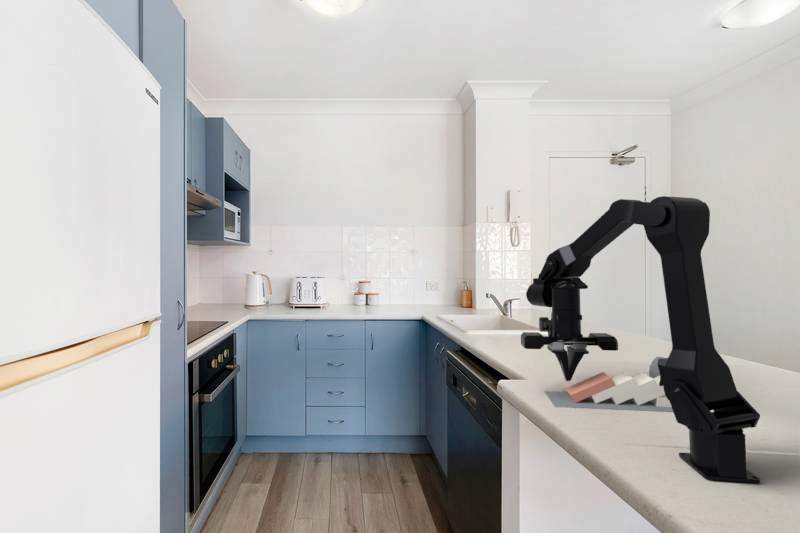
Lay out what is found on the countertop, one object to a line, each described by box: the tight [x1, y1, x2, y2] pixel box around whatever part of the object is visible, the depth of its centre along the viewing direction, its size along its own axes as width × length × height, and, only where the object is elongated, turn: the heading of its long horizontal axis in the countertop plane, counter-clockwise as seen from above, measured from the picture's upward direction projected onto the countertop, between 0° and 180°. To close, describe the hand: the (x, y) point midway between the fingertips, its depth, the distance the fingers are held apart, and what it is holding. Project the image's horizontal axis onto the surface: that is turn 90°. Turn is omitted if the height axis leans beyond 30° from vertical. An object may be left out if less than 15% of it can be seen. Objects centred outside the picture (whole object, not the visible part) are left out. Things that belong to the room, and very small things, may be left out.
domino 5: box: [650, 395, 672, 408], centre depth 75 cm, size 4×2×9 cm
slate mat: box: [543, 390, 674, 413], centre depth 77 cm, size 10×23×1 cm, turn 80°
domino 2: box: [589, 371, 637, 403], centre depth 77 cm, size 4×2×9 cm
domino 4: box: [630, 376, 665, 405], centre depth 75 cm, size 4×2×9 cm
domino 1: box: [565, 371, 616, 403], centre depth 77 cm, size 4×2×9 cm
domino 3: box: [609, 372, 658, 405], centre depth 76 cm, size 4×2×9 cm
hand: (567, 380), depth 78 cm, fingers closed
